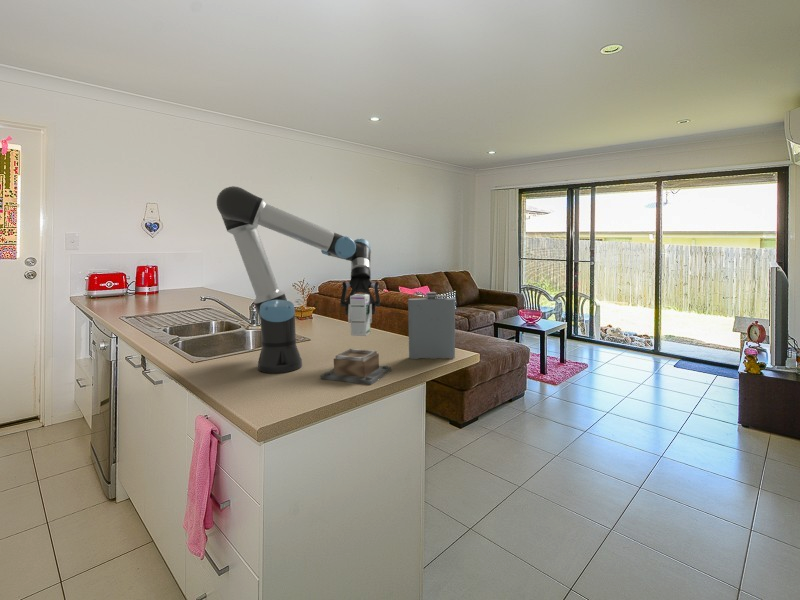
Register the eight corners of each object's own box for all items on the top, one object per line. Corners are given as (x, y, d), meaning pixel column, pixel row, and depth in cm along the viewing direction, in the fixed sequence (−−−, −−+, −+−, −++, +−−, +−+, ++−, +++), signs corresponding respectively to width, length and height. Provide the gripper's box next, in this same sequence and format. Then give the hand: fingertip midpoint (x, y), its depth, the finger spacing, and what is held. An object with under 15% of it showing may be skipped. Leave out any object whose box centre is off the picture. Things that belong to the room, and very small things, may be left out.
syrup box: (366, 336, 151) (366, 295, 149) (350, 335, 152) (349, 295, 150) (370, 333, 156) (370, 293, 155) (355, 332, 157) (354, 293, 156)
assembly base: (320, 378, 137) (319, 357, 136) (344, 365, 152) (344, 346, 151) (371, 384, 131) (370, 361, 130) (391, 370, 146) (390, 349, 145)
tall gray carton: (454, 355, 164) (454, 291, 161) (455, 358, 160) (455, 292, 156) (409, 355, 165) (408, 291, 162) (408, 359, 160) (408, 292, 157)
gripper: (386, 278, 168) (387, 326, 153) (335, 278, 166) (332, 327, 152) (386, 265, 162) (388, 314, 148) (334, 265, 161) (330, 314, 146)
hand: (360, 320), depth 150 cm, fingers closed on syrup box, 7 cm apart
